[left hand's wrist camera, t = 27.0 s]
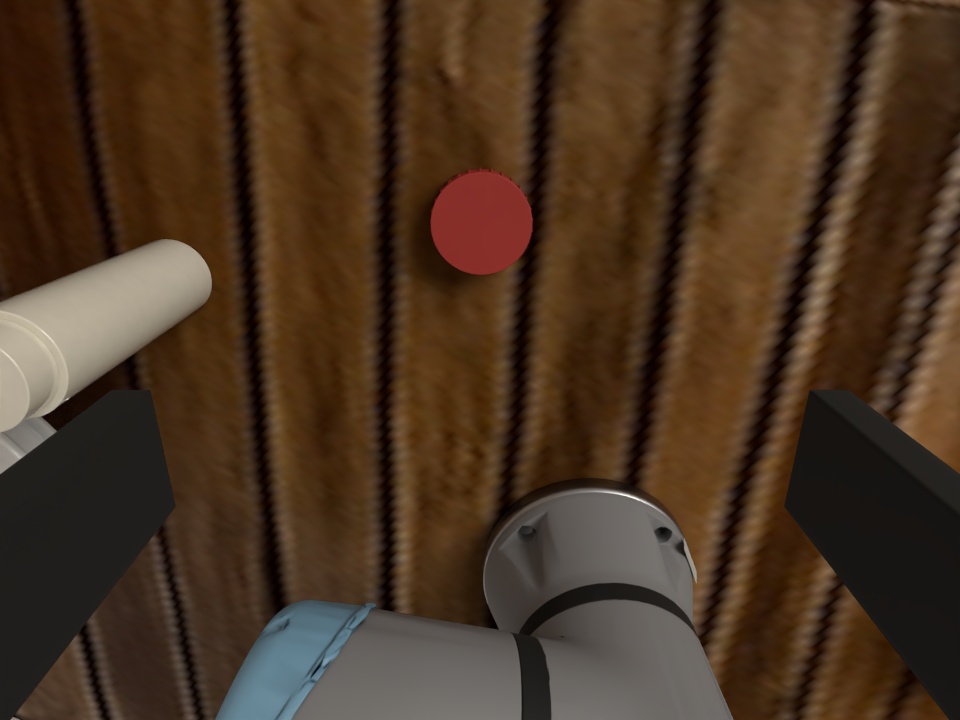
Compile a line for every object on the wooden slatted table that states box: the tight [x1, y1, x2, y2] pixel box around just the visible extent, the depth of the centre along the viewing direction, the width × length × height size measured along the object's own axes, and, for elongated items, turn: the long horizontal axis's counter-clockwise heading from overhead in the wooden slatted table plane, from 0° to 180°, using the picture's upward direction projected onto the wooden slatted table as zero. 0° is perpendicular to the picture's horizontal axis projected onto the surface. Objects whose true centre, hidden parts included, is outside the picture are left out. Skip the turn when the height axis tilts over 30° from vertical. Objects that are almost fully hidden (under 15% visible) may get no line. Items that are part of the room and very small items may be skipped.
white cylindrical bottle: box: [0, 239, 212, 433], centre depth 31 cm, size 5×5×17 cm
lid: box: [430, 168, 533, 275], centre depth 36 cm, size 6×6×2 cm
